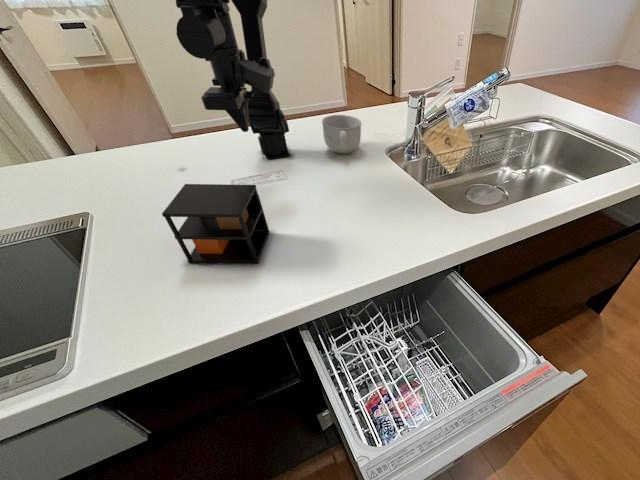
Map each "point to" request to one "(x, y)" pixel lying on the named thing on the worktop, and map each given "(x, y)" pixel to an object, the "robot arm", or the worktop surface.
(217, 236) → the snack rack
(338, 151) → the teacup
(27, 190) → the worktop surface
